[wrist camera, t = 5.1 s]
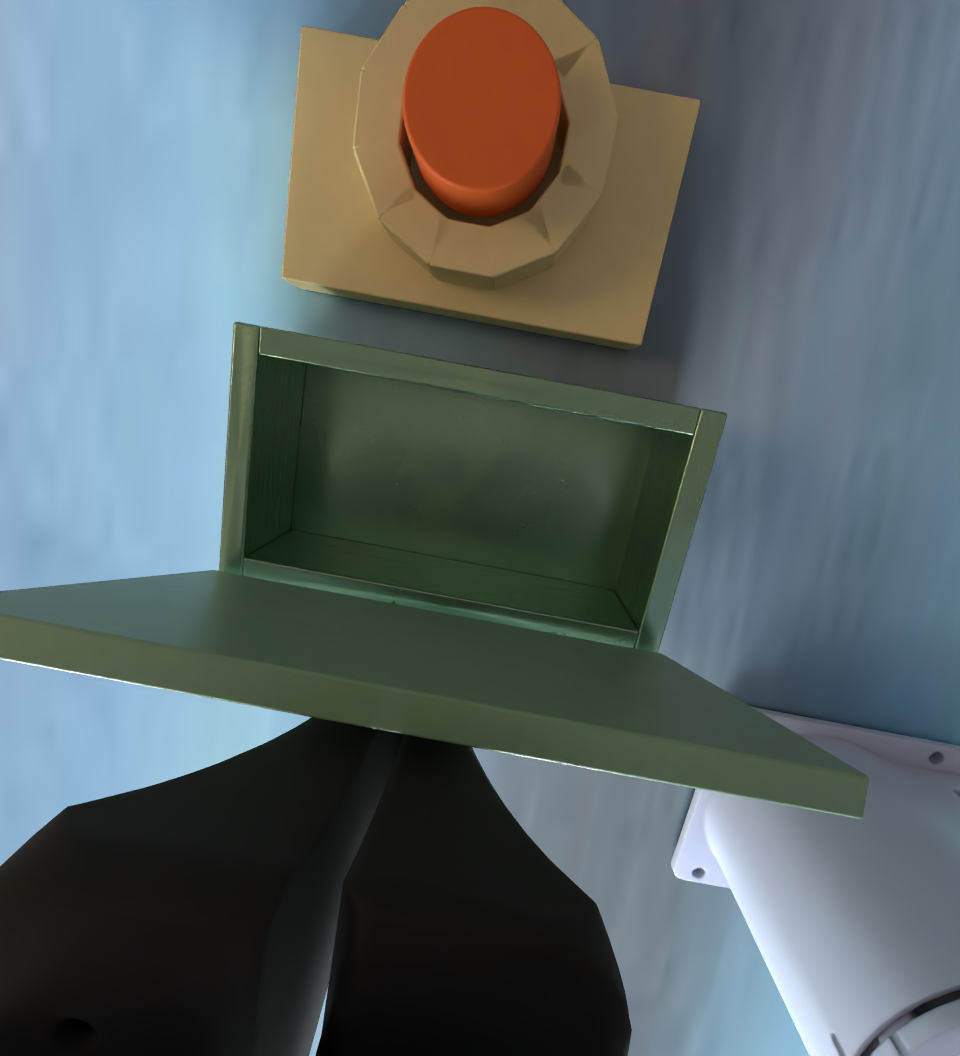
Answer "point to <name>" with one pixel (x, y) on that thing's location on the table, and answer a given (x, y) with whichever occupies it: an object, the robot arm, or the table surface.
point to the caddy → (460, 487)
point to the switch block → (497, 241)
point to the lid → (425, 680)
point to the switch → (482, 110)
